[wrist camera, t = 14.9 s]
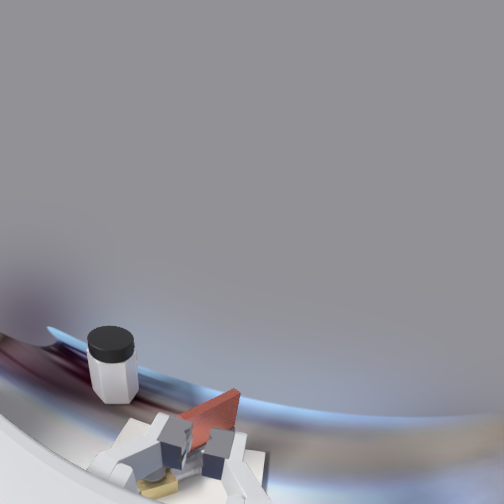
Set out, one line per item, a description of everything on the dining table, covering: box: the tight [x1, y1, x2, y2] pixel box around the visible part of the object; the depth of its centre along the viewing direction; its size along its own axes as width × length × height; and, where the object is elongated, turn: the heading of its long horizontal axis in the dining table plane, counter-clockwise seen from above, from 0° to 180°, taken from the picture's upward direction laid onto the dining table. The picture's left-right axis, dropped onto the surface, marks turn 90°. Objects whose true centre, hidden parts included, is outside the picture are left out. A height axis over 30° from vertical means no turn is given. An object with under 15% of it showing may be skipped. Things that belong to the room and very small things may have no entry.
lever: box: [141, 388, 240, 483], centre depth 29 cm, size 16×4×8 cm, turn 138°
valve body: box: [136, 451, 203, 500], centre depth 26 cm, size 16×5×4 cm, turn 129°
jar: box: [87, 326, 139, 404], centre depth 43 cm, size 9×8×12 cm
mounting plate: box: [110, 418, 265, 504], centre depth 27 cm, size 22×20×1 cm
